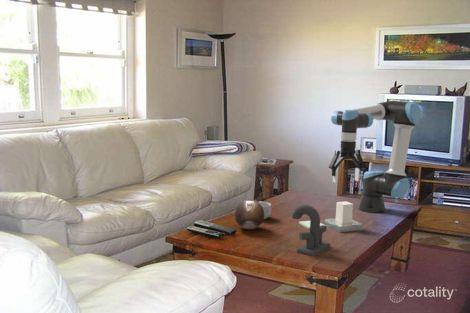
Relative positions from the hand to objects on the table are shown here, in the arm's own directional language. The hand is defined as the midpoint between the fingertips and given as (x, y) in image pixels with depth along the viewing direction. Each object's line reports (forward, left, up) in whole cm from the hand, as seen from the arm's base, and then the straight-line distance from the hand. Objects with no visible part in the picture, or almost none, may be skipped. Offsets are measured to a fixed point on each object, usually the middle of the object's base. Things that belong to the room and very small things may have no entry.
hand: (345, 181), depth 268 cm
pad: (+14, -8, -24) cm, 29 cm away
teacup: (+33, -30, -24) cm, 51 cm away
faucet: (+34, +21, -24) cm, 47 cm away
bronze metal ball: (+48, -13, -24) cm, 55 cm away
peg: (0, 0, -24) cm, 24 cm away
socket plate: (0, 0, -24) cm, 24 cm away
